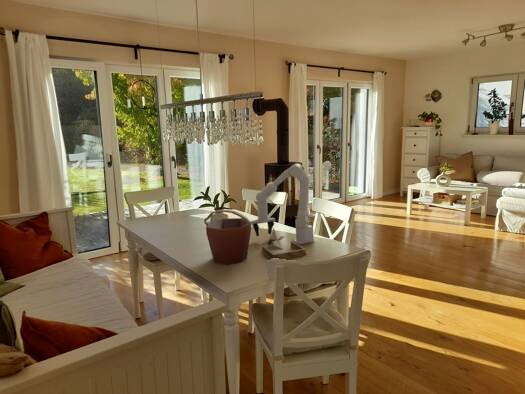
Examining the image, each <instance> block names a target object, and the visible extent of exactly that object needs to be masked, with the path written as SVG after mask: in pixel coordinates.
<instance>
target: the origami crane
mask: <svg viewBox="0 0 525 394" xmlns="http://www.w3.org/2000/svg"><path fill="white" fill-rule="evenodd" d="M270 235H271V236H270V238H269V240H268V241H267V242H266V245H268V247H270V246H274V245H275V246H277V247H278V248H280V249H281V250H284V247H282V245H281V242H280V240H283V239H284V238H285V237H284V235H282V236H280V237H277V234H276V230H275V227H272V231H271V234H270Z"/></svg>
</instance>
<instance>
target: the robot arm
mask: <svg viewBox="0 0 525 394" xmlns="http://www.w3.org/2000/svg"><path fill="white" fill-rule="evenodd" d="M291 177H292V178H294V179H296V180H297V181H299V182H300V183H299V196H298V209H297V214H296V215H297V217H296V218H295V220H294V222H295V239H292V241H293V242H294V243H296V244H298V245H303V244H308V243H313V242H315V240H314V228H313V226H312V225H311V224H308V222H309V221H310V220H309V219H310V218H309V216H308V201H309V199H308V198H309V188H310V177H309V176H308V174H307V171H306V169H305V167H304V166H303V165H302V164H300V163H294V164H293V165H291V166H290V167H289V168H287V169H286V170H284V171H283V172H282V173H281V174H280V175H279V176H278V177H276V179H275V180H274V181H273V182H272V181H271V182H268V183H266V184H265V186H264V187H263V188H260V192H259V191H258V193H257V194H256V195H255V199H256V202H257V205H256V206H257V207H256V208H257V219H254V220H250V222H251V227H252V228H253V230H254V233H255V235H256V237H259V235H260V234H259V228H260V225H259V224H264V223H265V224H266V223H267V234H268V235H272V231H273V228H274V226H275V222H276V218H275V217H269V215H268V213H269V211H268V201H267V200H268V199H269V198H270V197H271V196H272V195H273V193H275V192H276V191H277V190H278V186H279V185H280V184H281V183H283V182H284V181H285V180H286V179H288V178H291Z"/></svg>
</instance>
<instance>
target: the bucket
mask: <svg viewBox="0 0 525 394" xmlns="http://www.w3.org/2000/svg"><path fill="white" fill-rule="evenodd" d="M217 213H218V214H219V213H229V214H234V216H235V215H236V216H237V217H238V218H236V217H235V218H233V217H232V218H231V217H230V218H227V217H226V218H225V217H224V218H220V219H219V218H218V219H216V220H212V221H208V220H209V219H210V218H212V216H214V215H215V214H217ZM203 223H204V224H205V226H206V227H205V232H206V236H207V242H208V245H209V248H210V252H211V256H212V258H213V262H214V264H219V265H224V266H229V265H236V264H237V265H238V264H242V263H243V262H244V261H245V260H246V259H248V252H249V246H250V239H251V234H252V233H251V232H252V225H251V220H250V219H249V218H248V216H245V215H244V214H242V213H241V212H238V211H236V210H231V209H220V210H215V211H211V212H210V213H209V214H208V215H207V217H205V218H204V219H203Z"/></svg>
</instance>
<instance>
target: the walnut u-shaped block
mask: <svg viewBox="0 0 525 394" xmlns="http://www.w3.org/2000/svg"><path fill="white" fill-rule="evenodd" d="M290 247H291V248H292V249H294V250H289V251H285V252H279V253H273V252H272V251H271V250H270V249H268V248H267V247H265V246H264V245H262V246H261V252H262V253H263V255H265V256H266V257H268V258H269V259H271V258H279V259H281V260H286V259H290V257H291V258H296V257H295V256H297V257H300V255H302V256H306V255H307V252H306V251H307V249H306V248H304V247H303V246H301V244H299V243H297V242H295V241H293V240H292V241H290ZM305 254H306V255H305ZM285 258H286V259H285Z"/></svg>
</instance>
